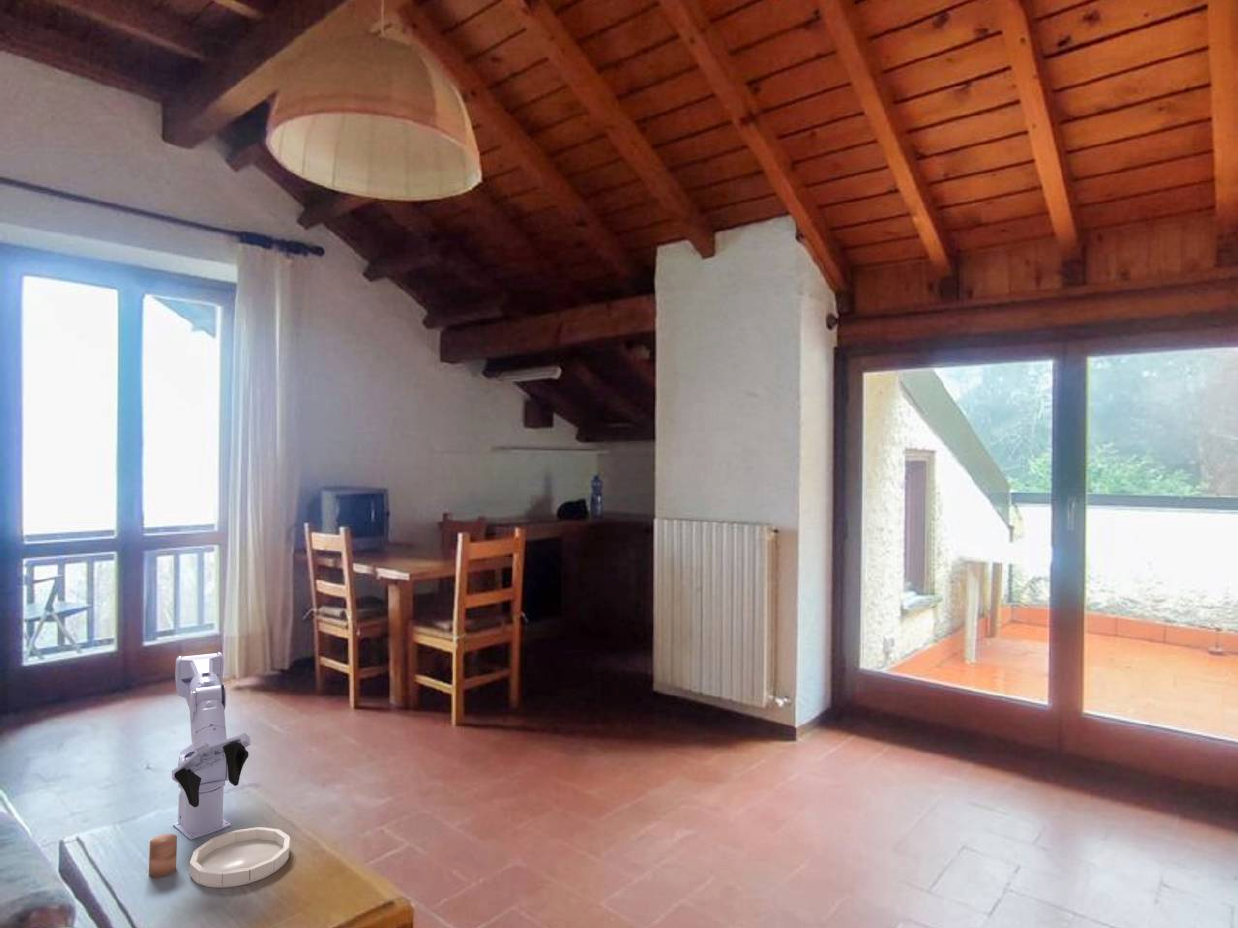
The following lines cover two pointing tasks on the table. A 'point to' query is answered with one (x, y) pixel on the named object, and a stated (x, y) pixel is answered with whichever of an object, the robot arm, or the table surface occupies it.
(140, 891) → the table surface
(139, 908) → the table surface
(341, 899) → the table surface
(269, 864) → the round tray
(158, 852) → the brown rounded cylinder
